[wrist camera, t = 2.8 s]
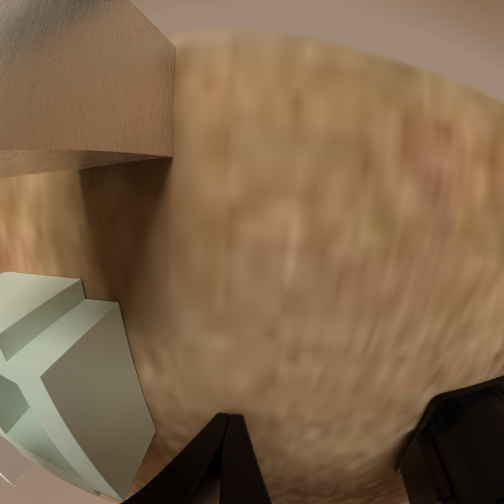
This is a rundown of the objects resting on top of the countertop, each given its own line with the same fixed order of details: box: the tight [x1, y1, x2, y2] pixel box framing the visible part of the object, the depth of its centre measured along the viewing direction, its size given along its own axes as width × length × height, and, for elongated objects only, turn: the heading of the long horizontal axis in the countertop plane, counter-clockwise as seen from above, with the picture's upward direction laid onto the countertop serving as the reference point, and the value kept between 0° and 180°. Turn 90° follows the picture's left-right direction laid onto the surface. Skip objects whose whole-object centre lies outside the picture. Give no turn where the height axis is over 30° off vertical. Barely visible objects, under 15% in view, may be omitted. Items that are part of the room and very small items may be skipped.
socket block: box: [0, 272, 156, 501], centre depth 8 cm, size 9×9×4 cm
